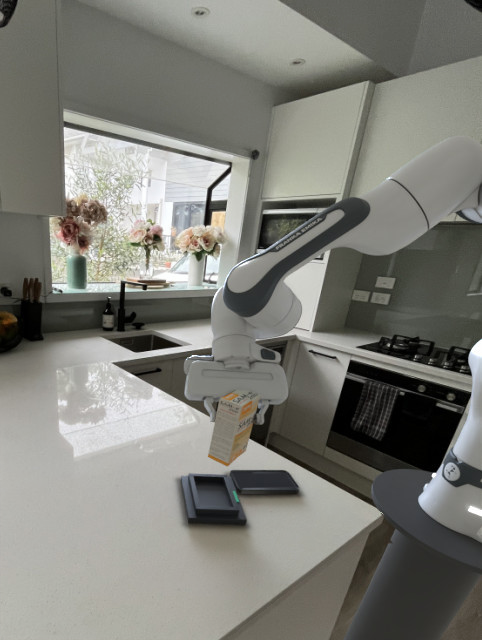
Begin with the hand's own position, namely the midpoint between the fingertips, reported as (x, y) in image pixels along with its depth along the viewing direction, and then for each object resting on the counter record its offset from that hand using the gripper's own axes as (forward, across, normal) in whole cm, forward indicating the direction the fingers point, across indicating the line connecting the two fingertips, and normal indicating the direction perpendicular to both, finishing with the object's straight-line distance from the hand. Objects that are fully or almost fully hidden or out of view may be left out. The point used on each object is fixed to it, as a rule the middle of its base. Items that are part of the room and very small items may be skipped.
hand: (237, 422), depth 73 cm
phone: (+9, +12, +21) cm, 26 cm away
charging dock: (+14, -2, +16) cm, 21 cm away
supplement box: (+5, -1, +5) cm, 7 cm away
